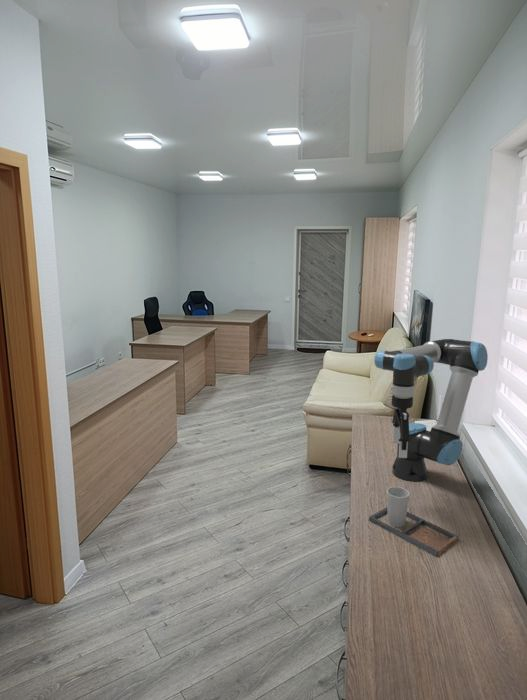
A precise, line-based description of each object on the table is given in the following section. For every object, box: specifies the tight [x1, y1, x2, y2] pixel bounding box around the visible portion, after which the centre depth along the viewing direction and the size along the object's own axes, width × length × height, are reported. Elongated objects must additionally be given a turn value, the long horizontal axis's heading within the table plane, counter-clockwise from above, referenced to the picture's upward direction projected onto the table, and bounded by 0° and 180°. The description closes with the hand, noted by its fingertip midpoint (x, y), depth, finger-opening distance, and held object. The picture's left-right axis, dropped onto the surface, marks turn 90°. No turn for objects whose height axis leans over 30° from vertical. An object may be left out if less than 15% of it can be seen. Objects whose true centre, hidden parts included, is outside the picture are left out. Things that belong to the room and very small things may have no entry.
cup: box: [386, 486, 410, 528], centre depth 163 cm, size 8×8×12 cm
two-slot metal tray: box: [368, 506, 460, 557], centre depth 159 cm, size 27×14×2 cm, turn 39°
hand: (399, 450), depth 169 cm, fingers open, 13 cm apart
